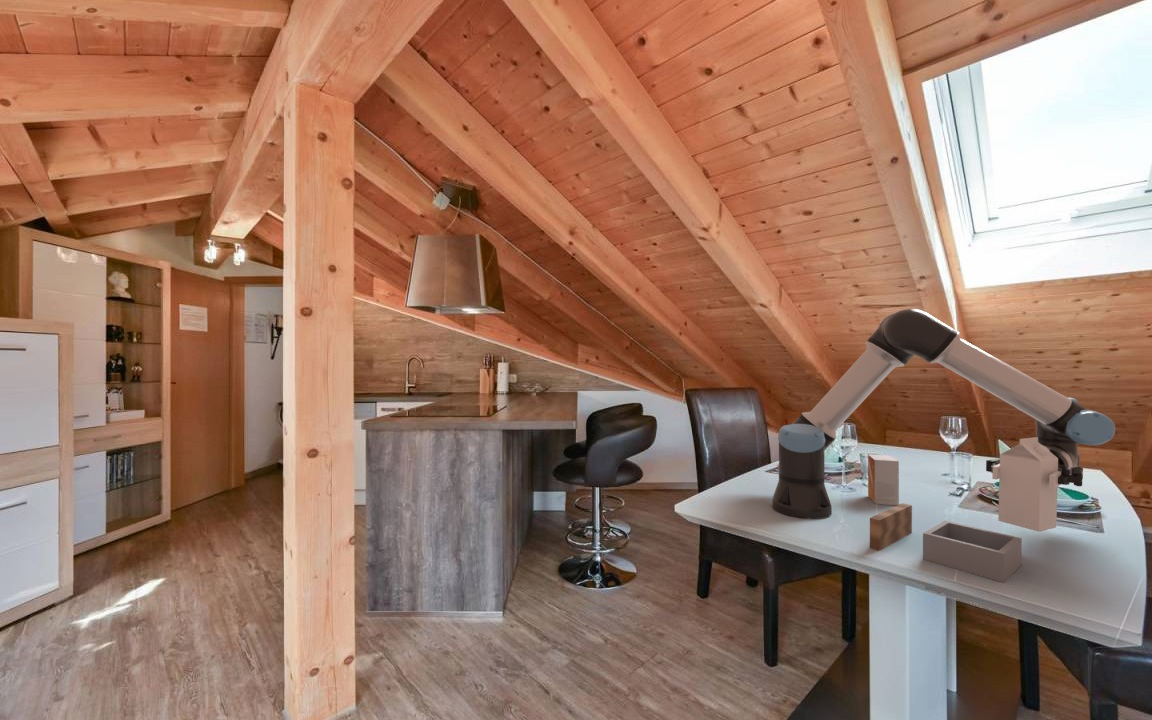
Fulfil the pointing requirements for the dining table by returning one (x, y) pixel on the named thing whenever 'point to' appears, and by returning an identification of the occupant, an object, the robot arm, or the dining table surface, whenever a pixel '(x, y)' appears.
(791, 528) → the dining table surface
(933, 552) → the tray
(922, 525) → the dining table surface
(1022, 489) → the milk carton
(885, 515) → the walnut wall
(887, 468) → the small box
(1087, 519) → the dining table surface
